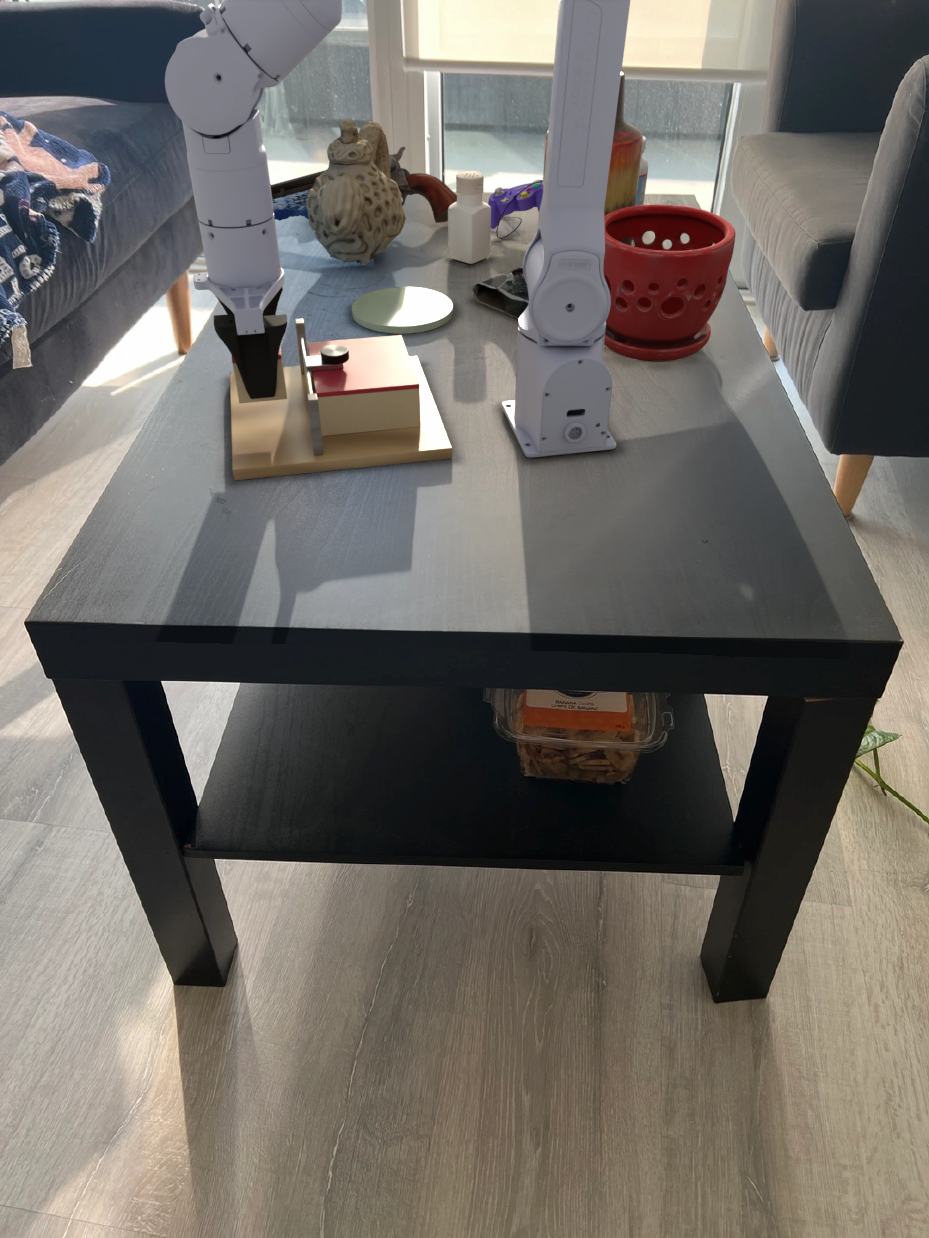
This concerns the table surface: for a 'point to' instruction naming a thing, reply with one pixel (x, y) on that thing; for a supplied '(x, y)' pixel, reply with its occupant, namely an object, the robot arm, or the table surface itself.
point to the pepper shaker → (469, 220)
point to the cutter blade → (324, 360)
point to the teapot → (356, 196)
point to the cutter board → (293, 438)
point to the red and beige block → (367, 387)
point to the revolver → (407, 183)
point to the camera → (504, 293)
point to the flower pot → (664, 279)
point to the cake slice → (245, 398)
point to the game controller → (514, 201)
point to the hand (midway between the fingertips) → (261, 381)
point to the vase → (620, 162)
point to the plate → (402, 310)
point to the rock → (291, 205)
